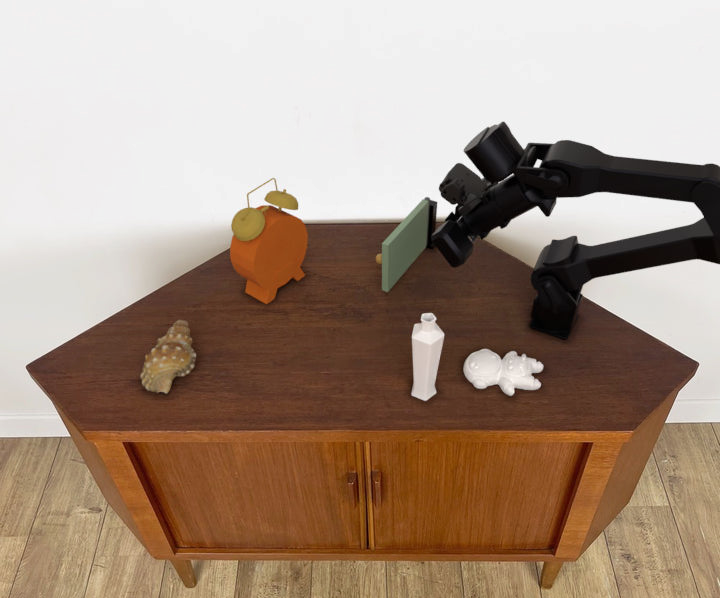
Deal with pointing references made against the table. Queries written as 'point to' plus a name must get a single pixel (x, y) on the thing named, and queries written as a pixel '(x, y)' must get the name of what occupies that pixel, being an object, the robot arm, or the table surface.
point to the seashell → (169, 359)
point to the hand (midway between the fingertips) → (435, 240)
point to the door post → (431, 223)
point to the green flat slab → (404, 245)
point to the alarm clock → (268, 244)
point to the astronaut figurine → (502, 371)
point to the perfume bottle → (426, 356)
